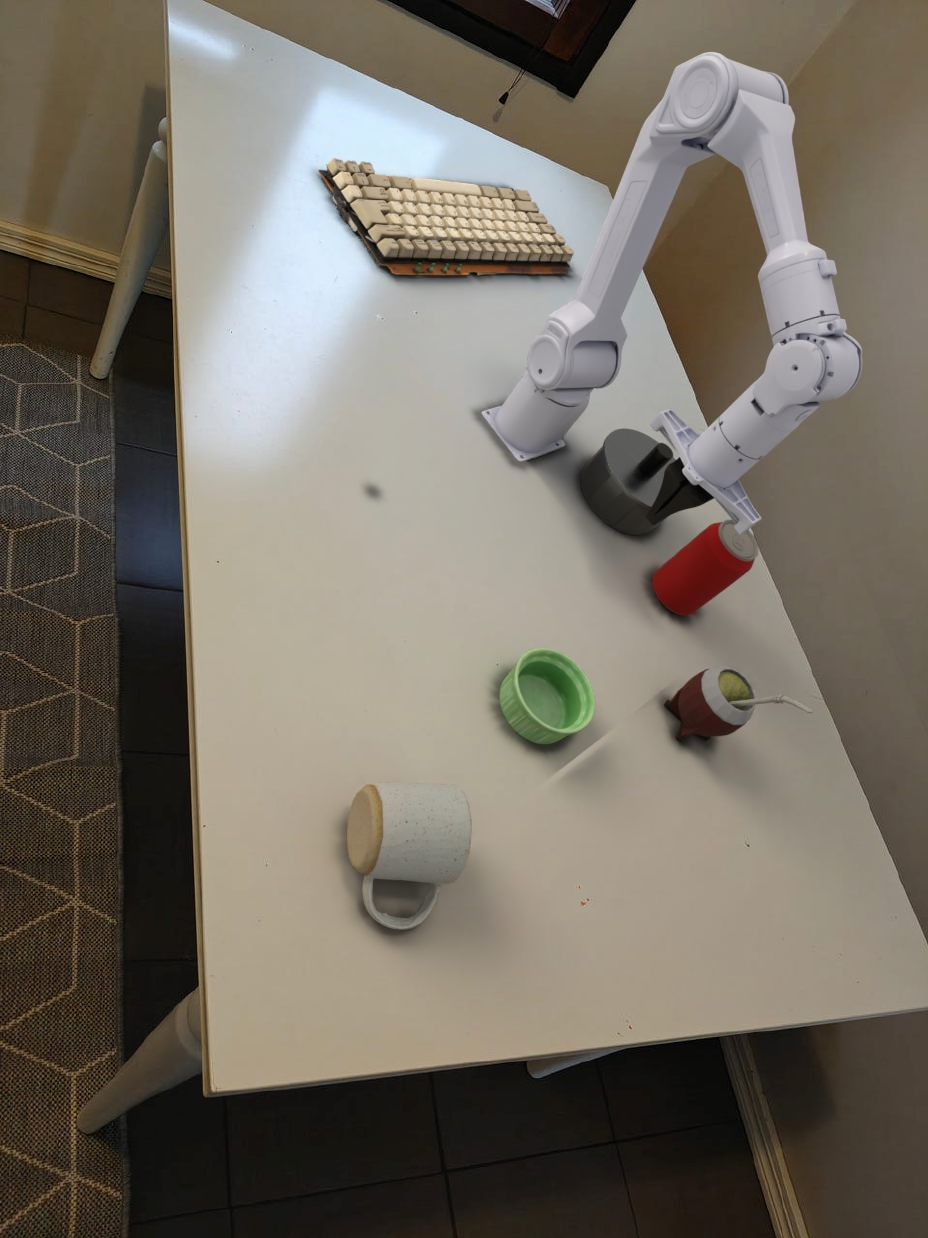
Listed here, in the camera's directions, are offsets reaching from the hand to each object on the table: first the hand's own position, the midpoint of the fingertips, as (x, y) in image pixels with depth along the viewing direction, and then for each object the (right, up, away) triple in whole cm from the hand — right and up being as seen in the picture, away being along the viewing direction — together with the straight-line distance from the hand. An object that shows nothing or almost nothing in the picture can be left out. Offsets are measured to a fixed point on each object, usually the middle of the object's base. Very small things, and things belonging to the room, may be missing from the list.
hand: (653, 518), depth 92 cm
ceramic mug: (-26, -31, -22) cm, 46 cm away
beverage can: (+5, -8, +12) cm, 15 cm away
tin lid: (+2, +7, +13) cm, 15 cm away
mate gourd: (+4, -23, +2) cm, 23 cm away
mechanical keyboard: (-22, +45, +31) cm, 59 cm away
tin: (-1, +5, +17) cm, 17 cm away
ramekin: (-14, -20, -7) cm, 25 cm away
